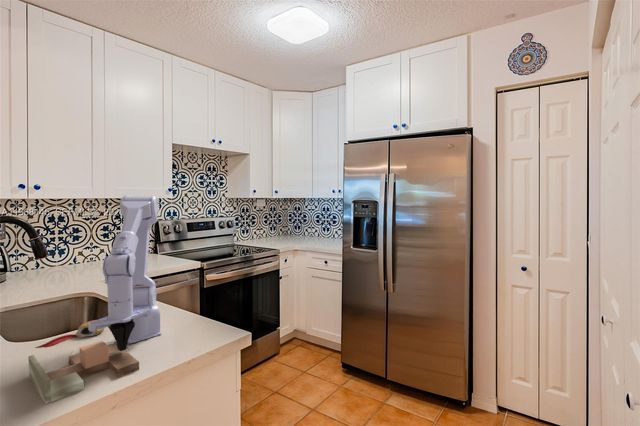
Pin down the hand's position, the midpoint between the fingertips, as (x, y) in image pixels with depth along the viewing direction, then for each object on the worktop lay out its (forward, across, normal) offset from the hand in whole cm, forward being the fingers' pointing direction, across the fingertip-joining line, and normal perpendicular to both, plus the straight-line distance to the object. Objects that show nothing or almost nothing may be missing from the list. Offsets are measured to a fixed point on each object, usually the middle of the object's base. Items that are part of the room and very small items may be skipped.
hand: (121, 349), depth 92 cm
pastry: (+3, 0, +27) cm, 27 cm away
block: (+1, -6, 0) cm, 6 cm away
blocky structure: (+3, -8, 0) cm, 9 cm away
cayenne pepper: (+4, -8, +26) cm, 28 cm away
